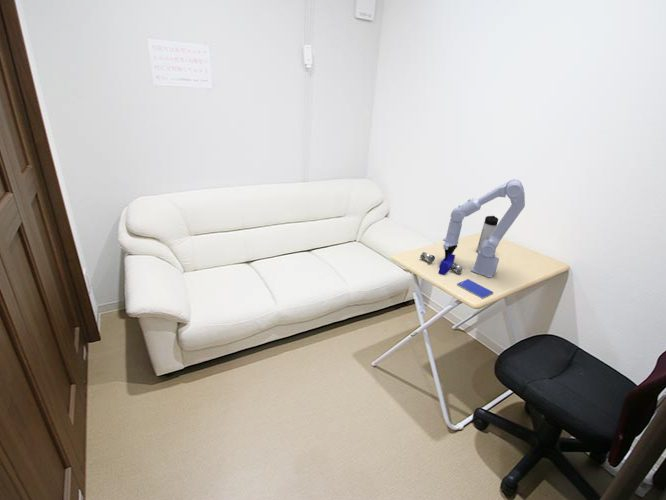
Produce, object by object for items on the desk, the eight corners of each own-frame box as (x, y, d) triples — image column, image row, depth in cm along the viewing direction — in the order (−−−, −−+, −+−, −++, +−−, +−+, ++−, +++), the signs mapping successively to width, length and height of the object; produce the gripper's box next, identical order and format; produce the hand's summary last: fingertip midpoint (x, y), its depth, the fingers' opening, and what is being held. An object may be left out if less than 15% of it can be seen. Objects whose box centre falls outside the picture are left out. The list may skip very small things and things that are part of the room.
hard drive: (457, 283, 150) (482, 296, 142) (468, 278, 155) (493, 291, 146) (456, 286, 151) (481, 300, 142) (467, 281, 156) (492, 294, 147)
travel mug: (489, 252, 187) (499, 217, 178) (487, 256, 182) (497, 220, 173) (477, 248, 190) (487, 214, 181) (475, 252, 184) (484, 217, 176)
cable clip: (443, 263, 170) (446, 252, 167) (452, 266, 168) (455, 255, 165) (435, 272, 161) (437, 260, 158) (444, 275, 159) (447, 263, 156)
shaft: (434, 261, 169) (435, 255, 167) (429, 263, 167) (430, 256, 165) (424, 256, 173) (426, 250, 172) (419, 258, 172) (421, 251, 170)
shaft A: (450, 270, 161) (451, 263, 160) (453, 268, 164) (454, 261, 162) (459, 273, 159) (460, 266, 158) (461, 271, 162) (463, 264, 160)
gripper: (450, 226, 172) (445, 251, 177) (439, 234, 161) (434, 260, 167) (464, 230, 168) (458, 255, 174) (454, 238, 157) (448, 265, 163)
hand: (447, 258), depth 170 cm, fingers closed
